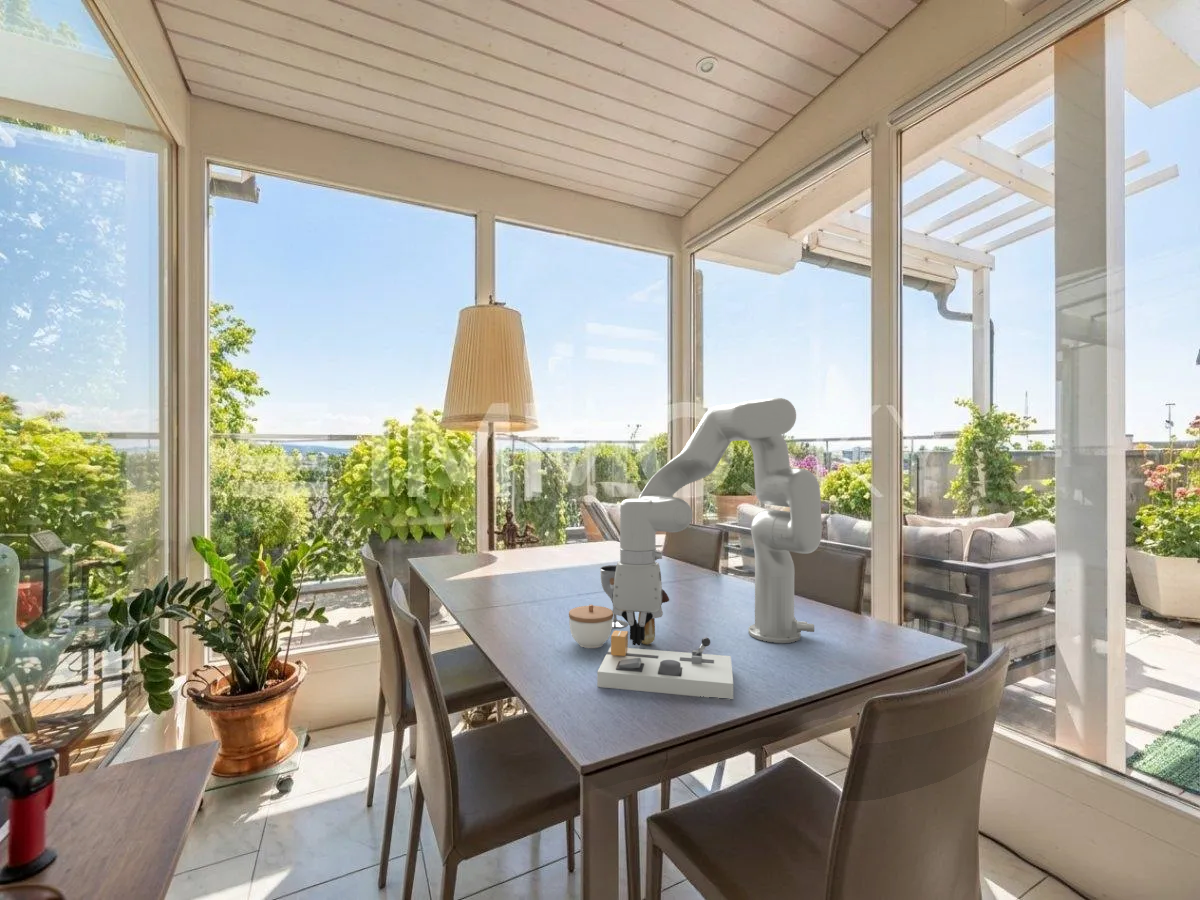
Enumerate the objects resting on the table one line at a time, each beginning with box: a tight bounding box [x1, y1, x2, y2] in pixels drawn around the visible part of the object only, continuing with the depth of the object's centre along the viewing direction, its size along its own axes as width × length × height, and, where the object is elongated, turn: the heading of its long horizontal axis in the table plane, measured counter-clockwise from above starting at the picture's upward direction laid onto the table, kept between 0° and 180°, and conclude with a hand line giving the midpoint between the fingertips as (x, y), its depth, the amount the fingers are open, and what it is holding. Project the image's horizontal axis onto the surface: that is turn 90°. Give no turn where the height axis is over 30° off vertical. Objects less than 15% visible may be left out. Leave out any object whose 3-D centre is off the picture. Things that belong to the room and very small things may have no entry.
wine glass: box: [599, 564, 629, 629], centre depth 145 cm, size 8×8×15 cm
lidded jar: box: [568, 603, 614, 649], centre depth 130 cm, size 11×11×9 cm
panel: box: [596, 646, 734, 700], centre depth 111 cm, size 26×14×5 cm, turn 78°
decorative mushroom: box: [637, 588, 670, 646], centre depth 131 cm, size 11×11×15 cm
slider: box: [610, 629, 629, 656], centre depth 116 cm, size 3×4×4 cm
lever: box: [695, 636, 711, 656], centre depth 112 cm, size 2×2×5 cm
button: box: [660, 660, 680, 676], centre depth 107 cm, size 4×4×4 cm
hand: (637, 643), depth 115 cm, fingers closed
